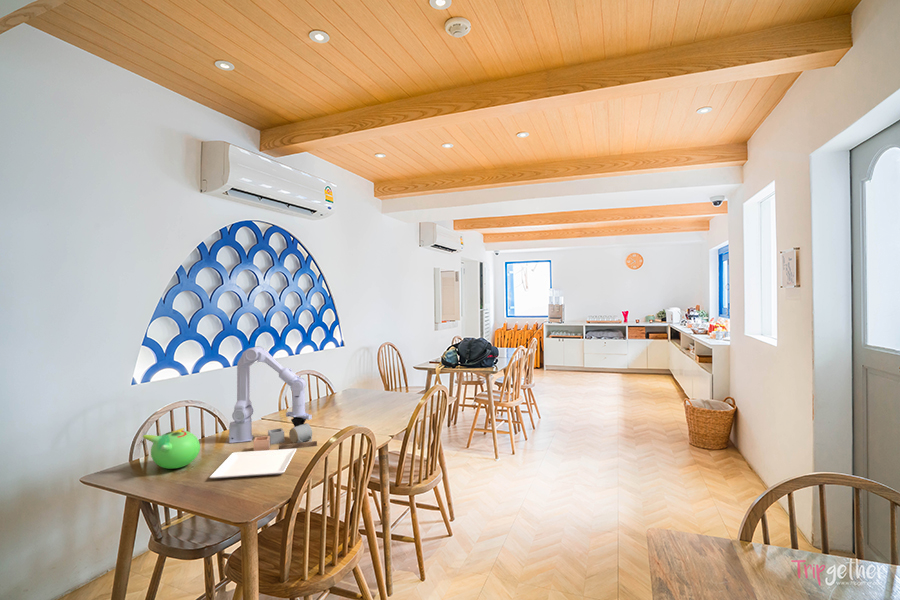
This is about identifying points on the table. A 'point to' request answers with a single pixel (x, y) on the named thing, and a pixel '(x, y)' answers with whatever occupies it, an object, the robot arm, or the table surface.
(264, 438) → the terracotta pot
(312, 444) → the walnut strip
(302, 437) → the ceramic mug
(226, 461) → the plate
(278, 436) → the slate pot
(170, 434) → the green teapot
